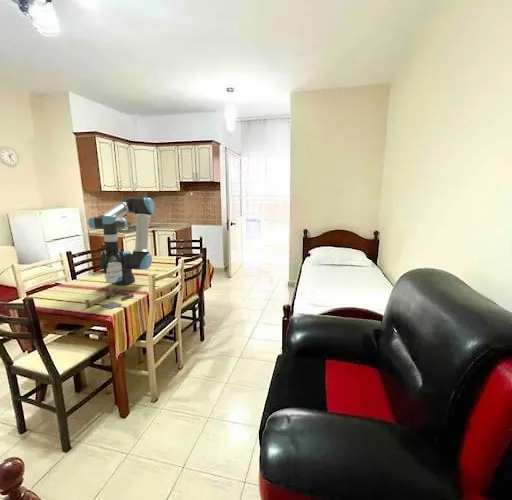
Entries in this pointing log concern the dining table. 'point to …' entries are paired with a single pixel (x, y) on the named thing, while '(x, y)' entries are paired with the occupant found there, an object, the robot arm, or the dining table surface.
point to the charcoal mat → (111, 305)
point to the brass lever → (97, 299)
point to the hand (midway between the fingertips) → (113, 276)
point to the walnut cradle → (117, 291)
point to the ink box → (114, 272)
